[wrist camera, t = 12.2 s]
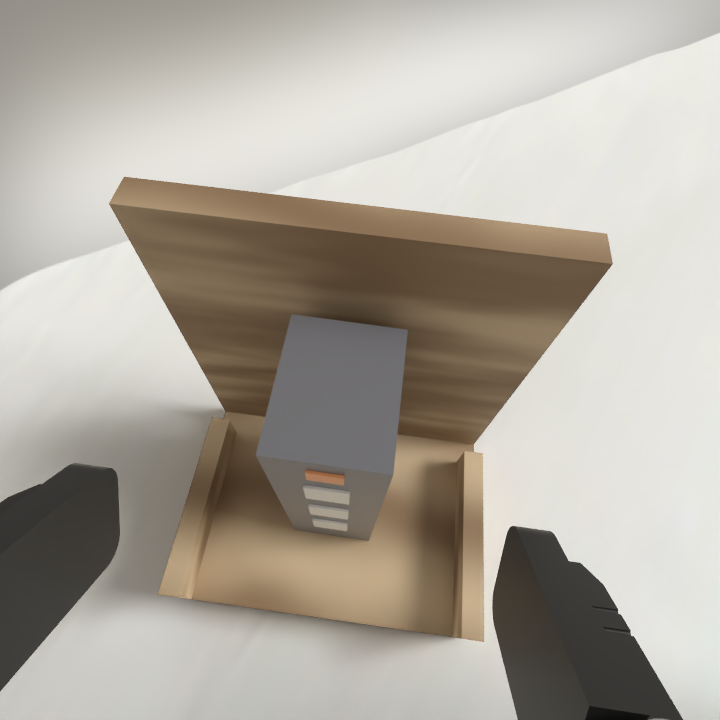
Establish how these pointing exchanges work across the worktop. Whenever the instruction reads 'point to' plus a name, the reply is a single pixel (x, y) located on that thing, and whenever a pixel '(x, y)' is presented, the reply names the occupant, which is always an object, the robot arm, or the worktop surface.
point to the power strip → (334, 424)
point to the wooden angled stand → (418, 398)
